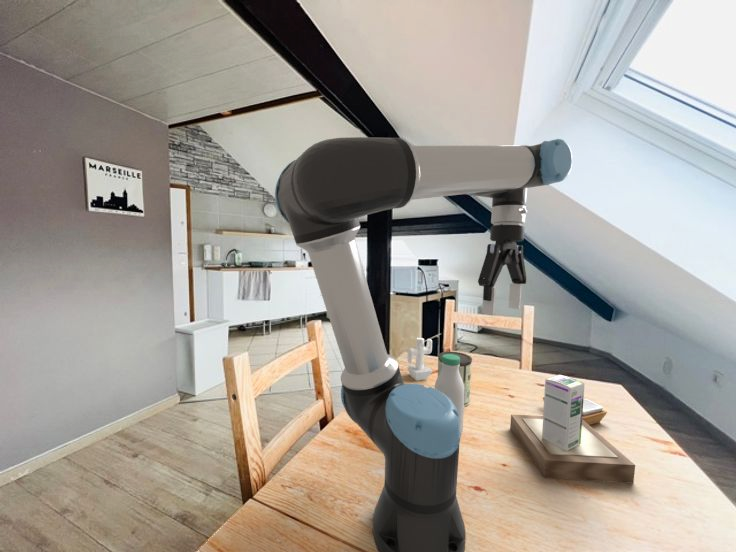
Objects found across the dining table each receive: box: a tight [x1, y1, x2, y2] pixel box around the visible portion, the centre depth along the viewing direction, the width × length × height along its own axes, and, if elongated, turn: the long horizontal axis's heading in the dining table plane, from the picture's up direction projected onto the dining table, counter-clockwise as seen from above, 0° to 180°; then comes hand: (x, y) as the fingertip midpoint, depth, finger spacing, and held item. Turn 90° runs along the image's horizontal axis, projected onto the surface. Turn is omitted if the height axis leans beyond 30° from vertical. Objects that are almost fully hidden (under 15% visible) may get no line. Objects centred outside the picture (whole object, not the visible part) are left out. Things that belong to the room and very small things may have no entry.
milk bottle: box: [434, 354, 465, 436], centre depth 81 cm, size 8×8×20 cm
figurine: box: [406, 337, 434, 382], centre depth 115 cm, size 7×9×15 cm
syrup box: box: [542, 374, 585, 451], centre depth 71 cm, size 6×6×14 cm
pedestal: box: [509, 414, 636, 484], centre depth 74 cm, size 18×18×4 cm
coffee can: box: [437, 351, 473, 408], centre depth 98 cm, size 10×10×14 cm
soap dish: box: [542, 396, 608, 426], centre depth 91 cm, size 12×10×5 cm
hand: (501, 311), depth 77 cm, fingers open, 13 cm apart
